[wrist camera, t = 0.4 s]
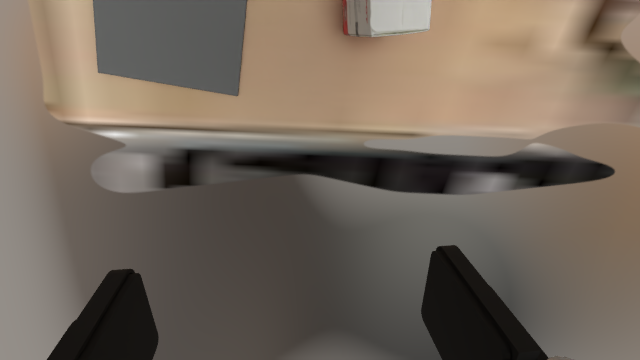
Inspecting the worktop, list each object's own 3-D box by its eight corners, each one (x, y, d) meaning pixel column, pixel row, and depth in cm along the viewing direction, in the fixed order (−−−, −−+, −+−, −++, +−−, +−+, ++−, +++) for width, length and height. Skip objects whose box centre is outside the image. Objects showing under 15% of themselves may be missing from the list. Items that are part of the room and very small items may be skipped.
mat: (90, -67, 30) (88, -68, 29) (249, -29, 32) (249, -29, 32) (99, 72, 34) (97, 72, 34) (238, 95, 37) (237, 96, 37)
